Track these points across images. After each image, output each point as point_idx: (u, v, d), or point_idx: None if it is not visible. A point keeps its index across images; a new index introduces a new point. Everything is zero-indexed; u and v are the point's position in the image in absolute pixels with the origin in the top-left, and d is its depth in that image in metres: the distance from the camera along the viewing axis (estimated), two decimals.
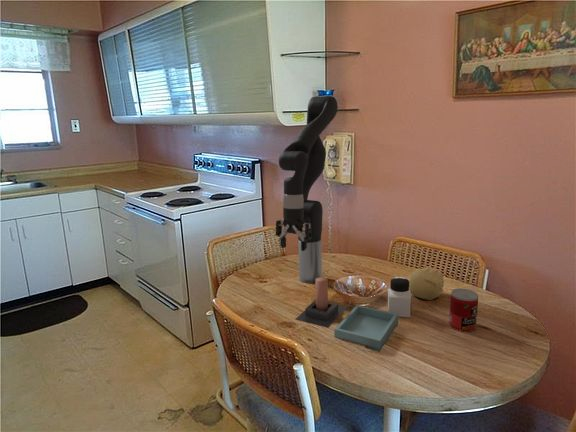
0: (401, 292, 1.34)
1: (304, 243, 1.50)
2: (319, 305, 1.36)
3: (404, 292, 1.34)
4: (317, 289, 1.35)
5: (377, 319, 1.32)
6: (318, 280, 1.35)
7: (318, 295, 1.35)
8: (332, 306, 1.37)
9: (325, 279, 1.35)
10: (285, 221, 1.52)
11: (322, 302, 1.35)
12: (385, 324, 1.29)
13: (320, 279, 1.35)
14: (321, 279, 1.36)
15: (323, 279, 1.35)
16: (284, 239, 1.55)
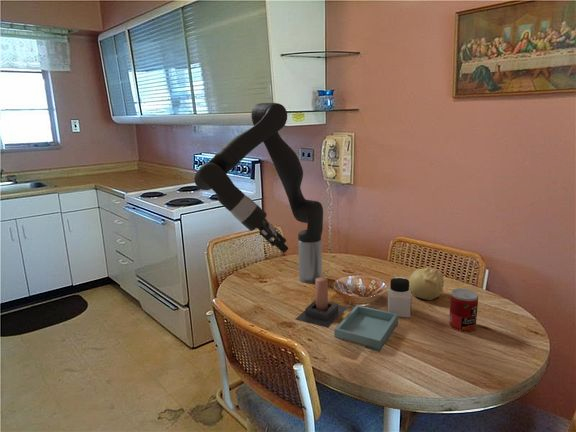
0: (401, 292, 1.34)
1: (278, 246, 1.26)
2: (319, 305, 1.36)
3: (404, 292, 1.34)
4: (317, 289, 1.35)
5: (377, 319, 1.32)
6: (318, 280, 1.35)
7: (318, 295, 1.35)
8: (332, 306, 1.37)
9: (325, 279, 1.35)
10: None
11: (322, 301, 1.35)
12: (385, 324, 1.29)
13: (320, 279, 1.35)
14: (321, 279, 1.36)
15: (323, 279, 1.35)
16: (277, 236, 1.35)
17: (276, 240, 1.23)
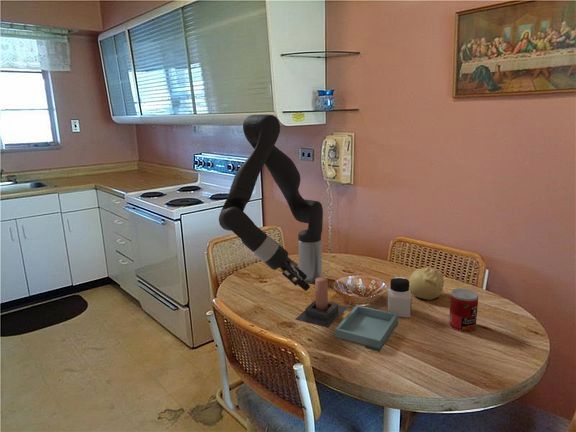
0: (401, 292, 1.34)
1: (300, 285, 1.30)
2: (319, 305, 1.36)
3: (404, 292, 1.34)
4: (317, 289, 1.35)
5: (377, 319, 1.32)
6: (318, 280, 1.35)
7: (318, 295, 1.35)
8: (332, 306, 1.37)
9: (325, 279, 1.35)
10: None
11: (322, 301, 1.35)
12: (385, 324, 1.29)
13: (320, 279, 1.35)
14: (320, 279, 1.36)
15: (323, 279, 1.35)
16: (298, 273, 1.38)
17: (298, 280, 1.27)
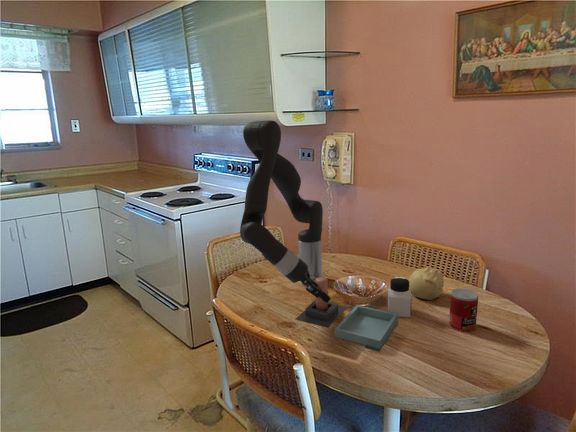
0: (401, 292, 1.34)
1: (321, 297, 1.33)
2: (319, 305, 1.36)
3: (404, 292, 1.34)
4: None
5: (377, 319, 1.32)
6: (318, 280, 1.35)
7: None
8: (332, 306, 1.37)
9: (325, 279, 1.35)
10: None
11: (322, 302, 1.35)
12: (385, 324, 1.29)
13: (320, 279, 1.35)
14: (321, 279, 1.36)
15: (323, 279, 1.35)
16: None
17: (320, 292, 1.31)
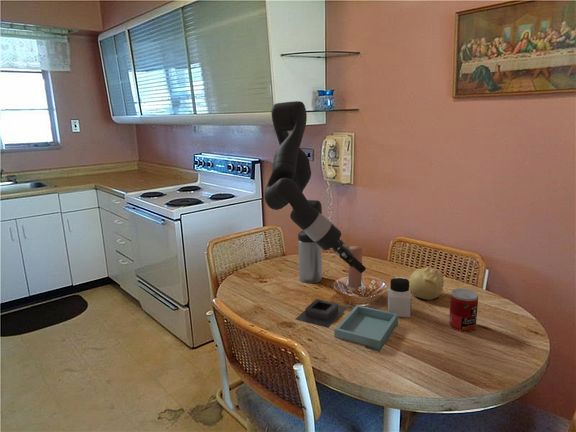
0: (401, 292, 1.34)
1: (355, 267, 1.21)
2: (352, 276, 1.23)
3: (404, 292, 1.34)
4: None
5: (377, 319, 1.32)
6: (352, 248, 1.22)
7: None
8: (332, 306, 1.37)
9: (359, 247, 1.23)
10: None
11: (355, 272, 1.22)
12: (385, 324, 1.29)
13: (354, 247, 1.23)
14: (354, 247, 1.23)
15: (357, 247, 1.23)
16: None
17: (355, 261, 1.18)
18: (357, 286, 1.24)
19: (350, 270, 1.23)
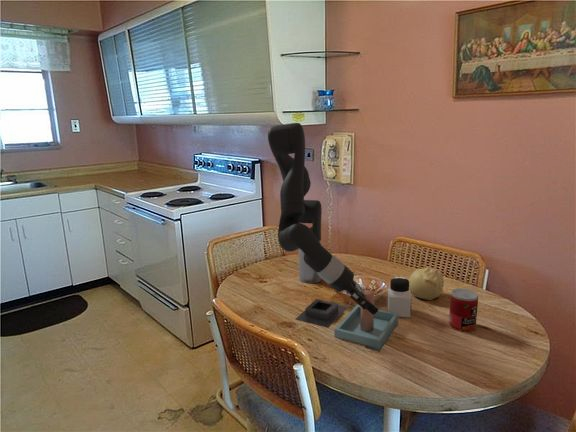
0: (401, 292, 1.34)
1: (368, 309, 1.20)
2: (364, 320, 1.24)
3: (404, 292, 1.34)
4: None
5: (377, 319, 1.32)
6: None
7: (364, 310, 1.24)
8: (332, 306, 1.37)
9: (371, 292, 1.24)
10: None
11: (368, 317, 1.24)
12: (385, 324, 1.29)
13: (366, 292, 1.24)
14: (367, 292, 1.24)
15: (370, 292, 1.24)
16: None
17: (368, 304, 1.17)
18: (369, 330, 1.25)
19: (362, 315, 1.25)
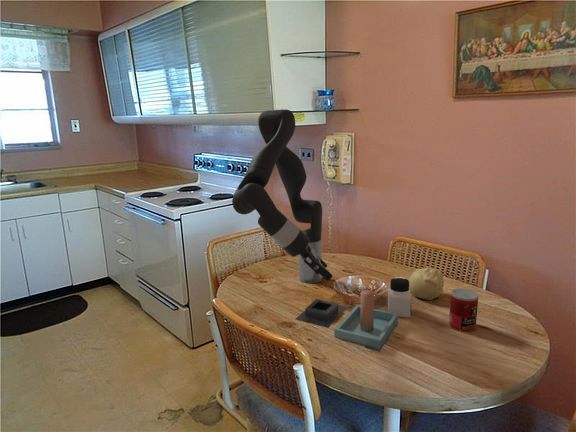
0: (401, 292, 1.34)
1: (322, 274, 1.17)
2: (364, 320, 1.24)
3: (404, 292, 1.34)
4: (363, 303, 1.24)
5: (377, 319, 1.32)
6: (364, 293, 1.24)
7: (364, 310, 1.24)
8: (332, 306, 1.37)
9: (371, 292, 1.24)
10: None
11: (368, 317, 1.24)
12: (385, 324, 1.29)
13: (366, 292, 1.24)
14: (366, 292, 1.24)
15: (369, 292, 1.24)
16: None
17: (321, 268, 1.15)
18: (369, 330, 1.25)
19: (362, 315, 1.25)
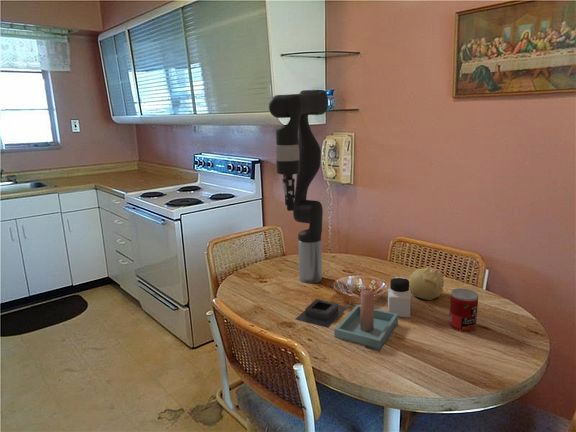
0: (401, 292, 1.34)
1: (288, 202, 1.31)
2: (364, 320, 1.24)
3: (404, 292, 1.34)
4: (363, 303, 1.24)
5: (377, 319, 1.32)
6: (364, 293, 1.24)
7: (364, 310, 1.24)
8: (332, 306, 1.37)
9: (371, 292, 1.24)
10: (284, 175, 1.37)
11: (368, 317, 1.24)
12: (385, 324, 1.29)
13: (366, 292, 1.24)
14: (366, 292, 1.24)
15: (369, 292, 1.24)
16: None
17: (293, 196, 1.28)
18: (369, 330, 1.25)
19: (362, 315, 1.25)
